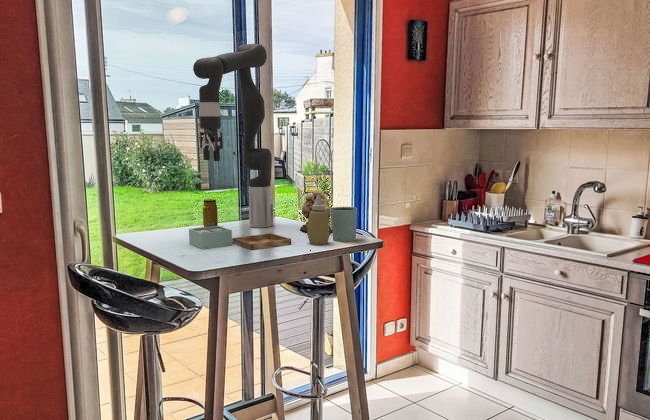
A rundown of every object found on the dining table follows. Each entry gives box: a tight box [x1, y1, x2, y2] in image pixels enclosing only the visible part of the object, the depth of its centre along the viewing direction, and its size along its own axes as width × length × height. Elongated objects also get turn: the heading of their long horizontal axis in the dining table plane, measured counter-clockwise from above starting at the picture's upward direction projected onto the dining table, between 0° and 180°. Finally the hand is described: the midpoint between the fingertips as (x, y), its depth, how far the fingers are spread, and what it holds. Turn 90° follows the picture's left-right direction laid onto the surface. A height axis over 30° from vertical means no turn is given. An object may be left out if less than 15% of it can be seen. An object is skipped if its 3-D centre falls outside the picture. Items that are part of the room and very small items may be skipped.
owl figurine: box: [299, 189, 333, 235], centre depth 222 cm, size 18×12×17 cm, turn 34°
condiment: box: [202, 198, 224, 227], centre depth 231 cm, size 7×8×12 cm
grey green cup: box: [329, 206, 358, 243], centre depth 205 cm, size 10×10×12 cm
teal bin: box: [188, 225, 233, 250], centre depth 194 cm, size 11×11×6 cm
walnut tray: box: [232, 232, 292, 251], centre depth 195 cm, size 16×14×3 cm
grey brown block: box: [209, 228, 224, 232], centre depth 195 cm, size 4×4×5 cm
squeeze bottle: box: [306, 195, 331, 246], centre depth 195 cm, size 8×8×18 cm
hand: (211, 160), depth 199 cm, fingers open, 8 cm apart
